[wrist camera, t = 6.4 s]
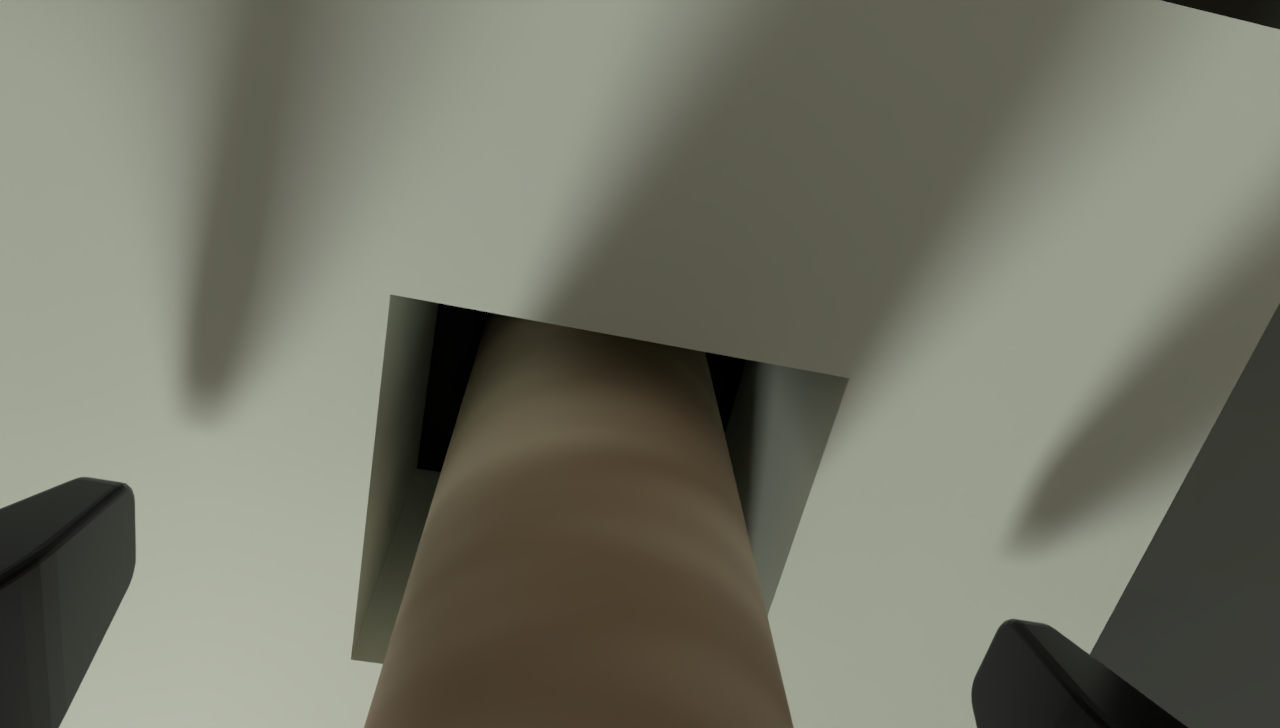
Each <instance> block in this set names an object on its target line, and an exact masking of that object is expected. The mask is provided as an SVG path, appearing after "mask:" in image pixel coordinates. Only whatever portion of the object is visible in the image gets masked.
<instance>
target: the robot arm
mask: <svg viewBox="0 0 1280 728" xmlns="http://www.w3.org/2000/svg"><path fill="white" fill-rule="evenodd" d="M135 563H136V529H135V497H134V493H133V490H132V488H131V487H130V486H128V485H127V484H126V483H123V482H117V481H111V480H104V479H98V478H91V477H79V478H76V479H73V480H70V481H68V482H65V483H63V484H60V485H58V486H55V487H53V488H50V489H48V490H45V491H43V492H40V493H38V494H35V495H33V496H30V497H28V498H25V499H23V500H20V501H18V502H15V503H13V504H10V505H8V506H6V507H3V508H1V509H0V728H59V727H60V725H61V723H62V721H63V719H64V717H65V715H66V713H67V711H68V709H69V707H70V705H71V703H72V701H73V699H74V697H75V695H76V693H77V691H78V689H79V687H80V685H81V683H82V681H83V679H84V677H85V675H86V673H87V671H88V669H89V667H90V665H91V663H92V661H93V659H94V656H95V654H96V652H97V650H98V648H99V646H100V644H101V642H102V640H103V638H104V636H105V634H106V632H107V630H108V628H109V626H110V624H111V622H112V620H113V618H114V616H115V614H116V612H117V610H118V608H119V606H120V604H121V602H122V600H123V598H124V596H125V594H126V592H127V590H128V588H129V585H130V583H131V580H132V577H133V573H134V569H135ZM971 702H972V708H973V713H974V717H975V722H976V726H977V728H1188V727H1186V726H1185V725H1184V724H1182V723H1181V722H1180V721H1178V720H1177V719H1176V718H1174V717H1173V716H1172V715H1170V714H1169V713H1168V712H1166V711H1165V710H1163V709H1162V708H1161V707H1159V706H1158V705H1157V704H1155V703H1154V702H1153V701H1151V700H1150V699H1149V698H1147V697H1146V696H1145V695H1143V694H1142V693H1141V692H1139V691H1138V690H1137V689H1135V688H1134V687H1133V686H1131V685H1130V684H1128V683H1127V682H1126V681H1124V680H1123V679H1122V678H1120V677H1119V676H1118V675H1116V674H1115V673H1114V672H1112V671H1111V670H1110V669H1108V668H1107V667H1106V666H1104V665H1103V664H1102V663H1100V662H1099V661H1098V660H1096V659H1095V658H1093V657H1092V656H1091V655H1089V654H1088V653H1087V652H1085V651H1084V650H1083V649H1081V648H1080V647H1079V646H1077V645H1076V644H1075V643H1073V642H1072V641H1071V640H1069V639H1068V638H1067V637H1065V636H1064V635H1063V634H1061V633H1060V632H1058V631H1057V630H1056V629H1054V628H1053V627H1051V626H1050V625H1047V624H1044V623H1039V622H1032V621H1026V620H1019V619H1009V620H1006V621H1004V622H1003V623H1002V624H1001V625H1000V626H999V628H998V630H997V631H996V633H995V635H994V638H993V640H992V642H991V644H990V646H989V648H988V650H987V652H986V654H985V656H984V658H983V661H982V663H981V665H980V667H979V669H978V671H977V673H976V675H975V678H974V681H973V684H972V691H971Z"/></svg>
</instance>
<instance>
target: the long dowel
mask: <svg viewBox="0 0 1280 728" xmlns="http://www.w3.org/2000/svg"><path fill="white" fill-rule="evenodd" d="M364 728H794V727H793V723H792V719H791V714H790V710H789V706H788V702H787V697H786V693H785V689H784V685H783V680H782V676H781V672H780V668H779V663H778V659H777V655H776V651H775V647H774V642H773V638H772V634H771V630H770V625H769V621H768V617H767V613H766V608H765V604H764V600H763V596H762V591H761V587H760V583H759V579H758V574H757V570H756V566H755V562H754V557H753V553H752V549H751V545H750V540H749V536H748V532H747V528H746V523H745V519H744V515H743V511H742V507H741V502H740V498H739V494H738V490H737V485H736V481H735V477H734V473H733V468H732V464H731V460H730V456H729V451H728V447H727V443H726V439H725V434H724V430H723V426H722V422H721V417H720V413H719V409H718V405H717V400H716V396H715V392H714V388H713V383H712V379H711V375H710V371H709V366H708V362H707V358H706V354H705V352H703V351H698V350H692V349H687V348H681V347H676V346H670V345H665V344H659V343H654V342H648V341H643V340H637V339H632V338H626V337H621V336H615V335H610V334H604V333H599V332H594V331H588V330H583V329H577V328H572V327H566V326H561V325H555V324H550V323H544V322H539V321H533V320H528V319H522V318H517V317H511V316H506V315H500V314H495V313H491V314H490V316H489V318H488V320H487V323H486V325H485V328H484V331H483V334H482V337H481V341H480V344H479V347H478V351H477V354H476V357H475V361H474V364H473V367H472V371H471V374H470V377H469V381H468V384H467V387H466V390H465V394H464V397H463V400H462V404H461V407H460V410H459V414H458V417H457V420H456V424H455V427H454V430H453V434H452V437H451V440H450V444H449V447H448V450H447V454H446V457H445V460H444V464H443V467H442V470H441V473H440V477H439V480H438V483H437V487H436V490H435V493H434V497H433V500H432V503H431V507H430V510H429V513H428V517H427V520H426V523H425V527H424V530H423V533H422V537H421V540H420V543H419V546H418V550H417V553H416V556H415V560H414V563H413V566H412V570H411V573H410V576H409V580H408V583H407V586H406V590H405V593H404V596H403V600H402V603H401V606H400V610H399V613H398V616H397V619H396V623H395V626H394V629H393V633H392V636H391V639H390V643H389V646H388V649H387V653H386V656H385V659H384V663H383V666H382V669H381V673H380V676H379V679H378V683H377V686H376V689H375V692H374V696H373V699H372V702H371V706H370V709H369V712H368V716H367V719H366V722H365V726H364Z"/></svg>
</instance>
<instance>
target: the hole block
mask: <svg viewBox="0 0 1280 728" xmlns="http://www.w3.org/2000/svg"><path fill="white" fill-rule="evenodd" d="M439 303H440V304H446V305H451V306H457V307H462V308H468V309H473V310H479V311H484V312H489V313H495V314H500V315H506V316H511V317H517V318H522V319H528V320H533V321H539V322H544V323H550V324H555V325H561V326H566V327H572V328H577V329H583V330H588V331H594V332H599V333H604V334H610V335H615V336H621V337H626V338H632V339H637V340H643V341H648V342H654V343H659V344H665V345H670V346H676V347H681V348H687V349H692V350H698V351H703V352H709V353H714V354H719V355H725V356H730V357H736V358H741V359H746V363H745V366H744V370H743V373H742V377H741V380H740V384H739V387H738V391H737V394H736V397H735V401H734V404H733V408H732V411H731V415H730V418H729V422H728V425H727V429H726V432H725V439H726V443H727V447H728V451H729V456H730V460H731V464H732V468H733V473H734V477H735V481H736V485H737V490H738V494H739V498H740V502H741V507H742V511H743V515H744V519H745V523H746V528H747V532H748V536H749V540H750V545H751V549H752V553H753V557H754V562H755V566H756V570H757V574H758V579H759V583H760V587H761V591H762V596H763V600H764V604H765V608H766V613H767V617H768V621H769V625H770V630H771V634H772V638H773V642H774V647H775V651H776V655H777V659H778V663H779V668H780V672H781V676H782V680H783V685H784V689H785V693H786V697H787V702H788V706H789V710H790V714H791V719H792V723H793V727H794V728H977V726H976V722H975V717H974V713H973V708H972V702H971V691H972V684H973V681H974V678H975V675H976V673H977V671H978V669H979V667H980V665H981V663H982V661H983V658H984V656H985V654H986V652H987V650H988V648H989V646H990V644H991V642H992V640H993V638H994V635H995V633H996V631H997V630H998V628H999V626H1000V625H1001V624H1002V623H1003V622H1004V621H1006V620H1009V619H1019V620H1026V621H1032V622H1039V623H1044V624H1047V625H1050V626H1051V627H1053V628H1054V629H1056V630H1057V631H1058V632H1060V633H1061V634H1063V635H1064V636H1065V637H1067V638H1068V639H1069V640H1071V641H1072V642H1073V643H1075V644H1076V645H1077V646H1079V647H1080V648H1081V649H1083V650H1084V651H1085V652H1087V653H1088V654H1090V653H1091V651H1092V649H1093V647H1094V645H1095V643H1096V641H1097V640H1098V638H1099V636H1100V634H1101V632H1102V630H1103V629H1104V627H1105V625H1106V623H1107V621H1108V619H1109V617H1110V616H1111V614H1112V612H1113V610H1114V608H1115V606H1116V605H1117V603H1118V601H1119V599H1120V597H1121V595H1122V593H1123V592H1124V590H1125V588H1126V586H1127V584H1128V582H1129V580H1130V579H1131V577H1132V575H1133V573H1134V571H1135V569H1136V568H1137V566H1138V564H1139V562H1140V560H1141V558H1142V556H1143V555H1144V553H1145V551H1146V549H1147V547H1148V545H1149V543H1150V542H1151V540H1152V538H1153V536H1154V534H1155V532H1156V531H1157V529H1158V527H1159V525H1160V523H1161V521H1162V519H1163V518H1164V516H1165V514H1166V512H1167V510H1168V508H1169V507H1170V505H1171V503H1172V501H1173V499H1174V497H1175V495H1176V494H1177V492H1178V490H1179V488H1180V486H1181V484H1182V482H1183V481H1184V479H1185V477H1186V475H1187V473H1188V471H1189V470H1190V468H1191V466H1192V464H1193V462H1194V460H1195V458H1196V457H1197V455H1198V453H1199V451H1200V449H1201V447H1202V445H1203V444H1204V442H1205V440H1206V438H1207V436H1208V434H1209V433H1210V431H1211V429H1212V427H1213V425H1214V423H1215V421H1216V420H1217V418H1218V416H1219V414H1220V412H1221V410H1222V409H1223V407H1224V405H1225V403H1226V401H1227V399H1228V397H1229V396H1230V394H1231V392H1232V390H1233V388H1234V386H1235V384H1236V383H1237V381H1238V379H1239V377H1240V375H1241V373H1242V372H1243V370H1244V368H1245V366H1246V364H1247V362H1248V360H1249V359H1250V357H1251V355H1252V353H1253V351H1254V349H1255V347H1256V346H1257V344H1258V342H1259V340H1260V338H1261V336H1262V335H1263V333H1264V331H1265V329H1266V327H1267V325H1268V323H1269V322H1270V320H1271V318H1272V316H1273V314H1274V312H1275V311H1276V309H1277V307H1278V305H1279V303H1280V30H1279V29H1275V28H1271V27H1267V26H1263V25H1259V24H1255V23H1251V22H1247V21H1243V20H1238V19H1234V18H1230V17H1226V16H1222V15H1218V14H1214V13H1210V12H1206V11H1202V10H1198V9H1194V8H1190V7H1185V6H1181V5H1177V4H1173V3H1169V2H1165V1H1161V0H0V509H1V508H3V507H6V506H8V505H10V504H13V503H15V502H18V501H20V500H23V499H25V498H28V497H30V496H33V495H35V494H38V493H40V492H43V491H45V490H48V489H50V488H53V487H55V486H58V485H60V484H63V483H65V482H68V481H70V480H73V479H76V478H79V477H91V478H98V479H104V480H111V481H117V482H123V483H126V484H127V485H128V486H130V487H131V488H132V490H133V493H134V497H135V529H136V563H135V569H134V573H133V577H132V580H131V583H130V585H129V588H128V590H127V592H126V594H125V596H124V598H123V600H122V602H121V604H120V606H119V608H118V610H117V612H116V614H115V616H114V618H113V620H112V622H111V624H110V626H109V628H108V630H107V632H106V634H105V636H104V638H103V640H102V642H101V644H100V646H99V648H98V650H97V652H96V654H95V656H94V659H93V661H92V663H91V665H90V667H89V669H88V671H87V673H86V675H85V677H84V679H83V681H82V683H81V685H80V687H79V689H78V691H77V693H76V695H75V697H74V699H73V701H72V703H71V705H70V707H69V709H68V711H67V713H66V715H65V717H64V719H63V721H62V723H61V725H60V727H59V728H364V726H365V722H366V719H367V716H368V712H369V709H370V706H371V702H372V699H373V696H374V692H375V689H376V686H377V683H378V679H379V676H380V673H381V669H382V666H383V663H384V659H385V656H386V653H387V649H388V646H389V643H390V639H391V636H392V633H393V629H394V626H395V623H396V619H397V616H398V613H399V610H400V606H401V603H402V600H403V596H404V593H405V590H406V586H407V583H408V580H409V576H410V573H411V570H412V566H413V563H414V560H415V556H416V553H417V550H418V546H419V543H420V540H421V537H422V533H423V530H424V527H425V523H426V520H427V517H428V513H429V510H430V507H431V503H432V500H433V497H434V493H435V490H436V487H437V483H438V480H439V477H440V473H441V472H437V471H430V470H424V469H418V468H417V463H418V456H419V448H420V440H421V433H422V425H423V418H424V410H425V403H426V395H427V387H428V380H429V372H430V365H431V357H432V350H433V342H434V334H435V327H436V319H437V312H438V304H439Z"/></svg>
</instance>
